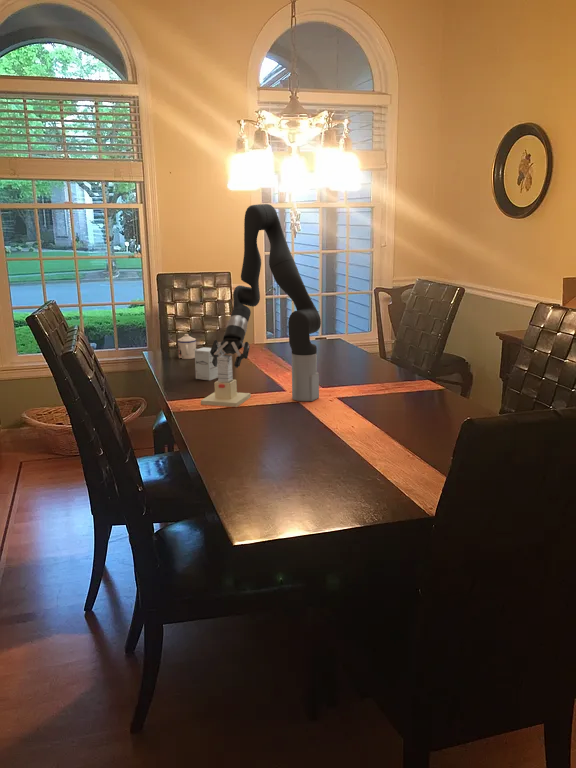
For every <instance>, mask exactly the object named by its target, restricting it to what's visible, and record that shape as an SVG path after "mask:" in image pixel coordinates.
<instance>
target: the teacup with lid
mask: <svg viewBox="0 0 576 768" xmlns="http://www.w3.org/2000/svg"><path fill="white" fill-rule="evenodd" d="M177 347H178V349H177V350H178V359H180V358H182V359H181V360H192V359H195V350H197V339H196V338H195V337H192V336H191V335H189V333H184V336H182V337H180V338H178V339H177Z"/></svg>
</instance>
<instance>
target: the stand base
mask: <svg viewBox="0 0 576 768" xmlns="http://www.w3.org/2000/svg"><path fill="white" fill-rule="evenodd" d="M213 384H214V392H212V393H211V394H209V395H208V396H206V397H204V398H203V399H200V405H206V406H219V407H231V408H238V407H239V406H240V405H242V404H243V403H244V402H246V401H247V400H249V399H250V398H251V396H252V393H250V392H238V386H237V379H233V381H231V382H230V383H222V382H218V380H216V381H215V382H214V383H213Z"/></svg>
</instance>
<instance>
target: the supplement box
mask: <svg viewBox="0 0 576 768" xmlns="http://www.w3.org/2000/svg"><path fill="white" fill-rule="evenodd" d="M211 348H212V347H200V348H196V350H195V358H194V366H195V367H194V369H195V380H204V381H212V380H216V379H218V363H217V366H216V367H215V366H214V365H213V363H212V361H213V357H212V355H211V353H210V351H211ZM217 350H218V349H217Z"/></svg>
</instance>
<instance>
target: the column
mask: <svg viewBox="0 0 576 768" xmlns="http://www.w3.org/2000/svg"><path fill="white" fill-rule="evenodd" d="M232 355H233V354H232ZM232 355H231V354H224V355H221V356H219V357H217V362H218V378H217V379H218V380H217V381H218V382H222V383H230V382H231V381H233V378H234V376H233V373H234V372H233V356H232Z"/></svg>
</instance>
